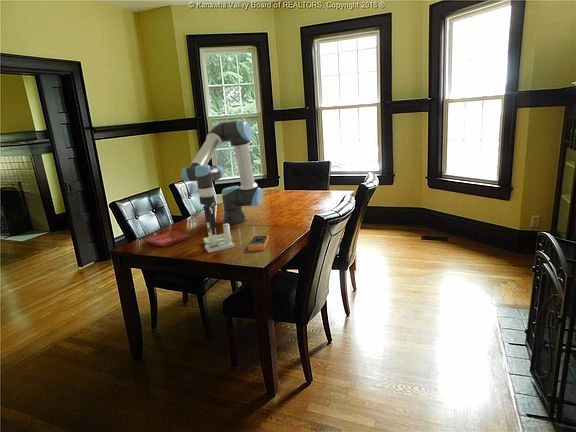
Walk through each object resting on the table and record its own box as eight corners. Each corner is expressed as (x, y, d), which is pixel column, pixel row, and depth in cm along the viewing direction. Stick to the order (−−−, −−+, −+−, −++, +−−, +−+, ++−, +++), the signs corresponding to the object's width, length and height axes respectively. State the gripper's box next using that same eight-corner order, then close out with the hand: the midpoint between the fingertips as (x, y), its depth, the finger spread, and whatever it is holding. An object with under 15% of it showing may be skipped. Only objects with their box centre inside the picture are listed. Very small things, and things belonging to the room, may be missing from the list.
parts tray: (227, 237, 217) (227, 233, 216) (233, 241, 208) (232, 237, 207) (203, 242, 211) (203, 238, 210) (208, 247, 202) (207, 242, 202)
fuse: (230, 244, 204) (228, 223, 201) (232, 245, 201) (229, 224, 198) (224, 245, 203) (222, 224, 200) (226, 247, 200) (223, 225, 197)
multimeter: (269, 239, 207) (269, 233, 206) (264, 251, 189) (264, 244, 189) (254, 240, 208) (253, 234, 207) (248, 252, 190) (247, 245, 189)
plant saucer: (172, 235, 231) (171, 230, 231) (189, 239, 220) (189, 234, 219) (145, 244, 218) (144, 239, 217) (162, 249, 207) (161, 243, 206)
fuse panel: (230, 242, 206) (229, 239, 206) (234, 246, 199) (234, 243, 199) (205, 248, 201) (204, 245, 200) (208, 252, 194) (208, 249, 193)
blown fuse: (216, 242, 201) (213, 220, 198) (218, 244, 197) (215, 222, 194) (209, 244, 199) (205, 222, 196) (211, 246, 196) (207, 224, 192)
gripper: (195, 194, 197) (202, 236, 203) (203, 199, 182) (210, 244, 188) (209, 192, 200) (215, 233, 206) (218, 197, 185) (224, 241, 191)
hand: (213, 238), depth 197 cm, fingers closed on blown fuse, 4 cm apart
